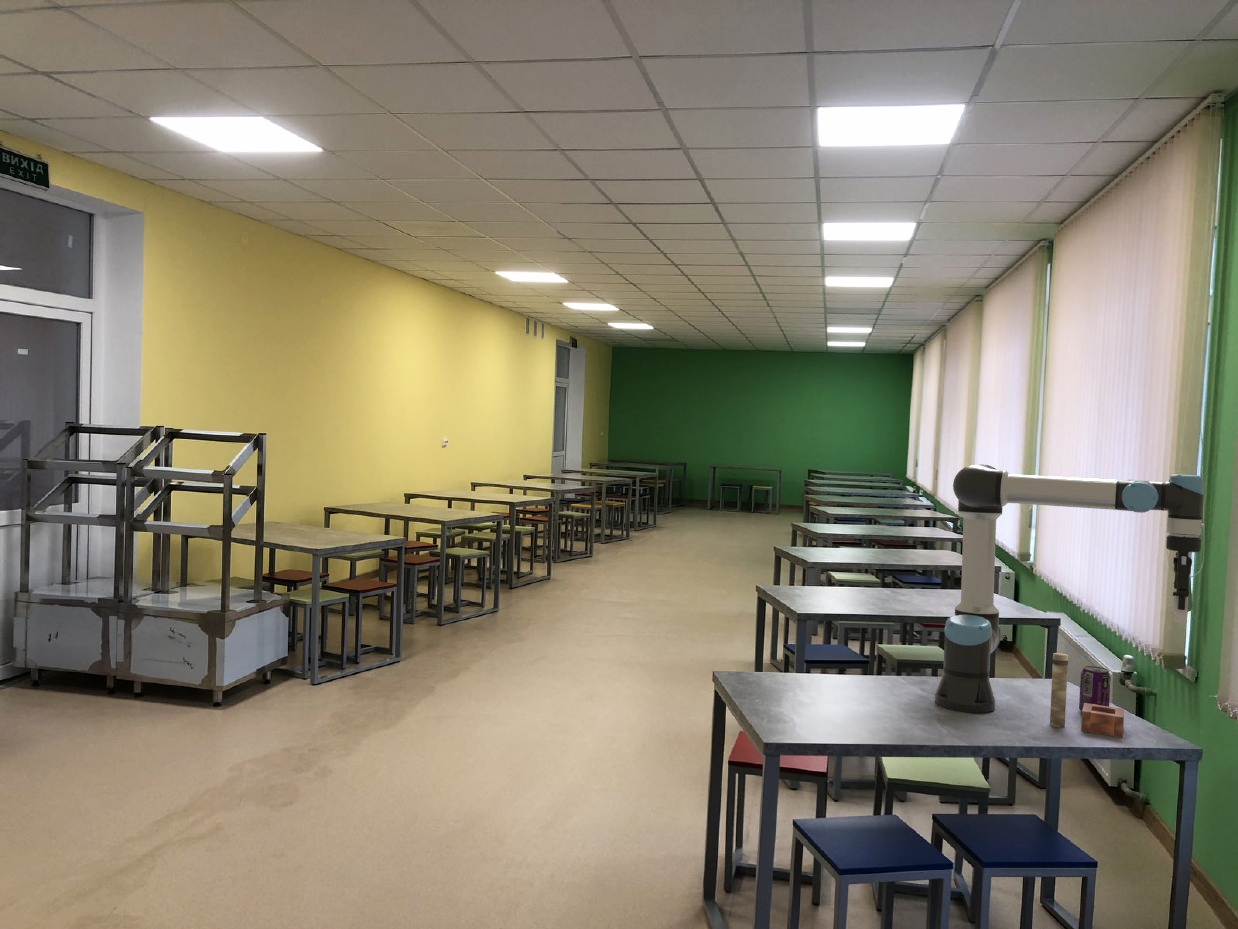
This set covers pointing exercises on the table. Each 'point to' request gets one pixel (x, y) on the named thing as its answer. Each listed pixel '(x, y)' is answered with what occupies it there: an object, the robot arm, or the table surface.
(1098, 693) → the beverage can
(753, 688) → the table surface
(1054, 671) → the wooden dowel rod
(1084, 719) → the brown hollow square block
